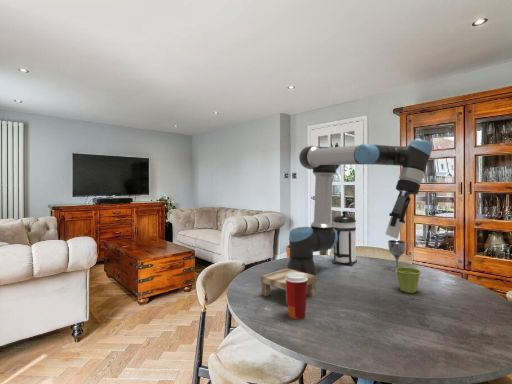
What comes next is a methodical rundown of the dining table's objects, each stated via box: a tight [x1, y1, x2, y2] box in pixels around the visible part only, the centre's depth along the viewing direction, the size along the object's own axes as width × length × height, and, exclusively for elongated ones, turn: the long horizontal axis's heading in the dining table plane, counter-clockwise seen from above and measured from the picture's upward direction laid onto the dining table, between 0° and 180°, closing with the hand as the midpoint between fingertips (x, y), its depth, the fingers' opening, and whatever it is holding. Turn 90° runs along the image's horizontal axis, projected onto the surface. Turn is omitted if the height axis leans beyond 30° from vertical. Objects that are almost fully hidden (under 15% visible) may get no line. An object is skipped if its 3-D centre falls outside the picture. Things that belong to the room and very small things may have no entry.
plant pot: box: [395, 266, 422, 294], centre depth 120 cm, size 9×9×9 cm
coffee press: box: [331, 210, 358, 267], centre depth 163 cm, size 17×16×30 cm
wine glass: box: [387, 239, 406, 273], centre depth 149 cm, size 8×8×15 cm
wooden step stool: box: [260, 267, 317, 306], centre depth 117 cm, size 16×16×8 cm
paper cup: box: [285, 272, 308, 320], centre depth 98 cm, size 8×8×14 cm
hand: (391, 236), depth 105 cm, fingers open, 13 cm apart
